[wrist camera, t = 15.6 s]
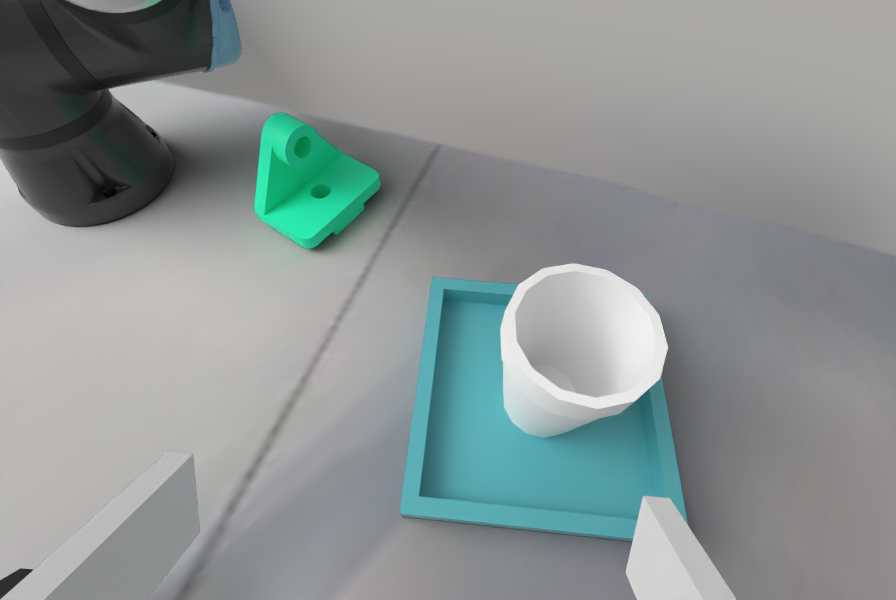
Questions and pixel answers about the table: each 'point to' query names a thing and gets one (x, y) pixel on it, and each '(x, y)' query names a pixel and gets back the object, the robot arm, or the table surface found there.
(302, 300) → the table surface
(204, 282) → the table surface
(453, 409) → the teal tray
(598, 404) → the foam cup
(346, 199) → the camera mount
